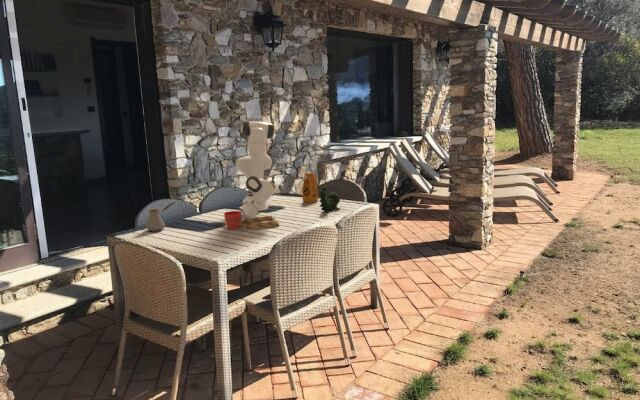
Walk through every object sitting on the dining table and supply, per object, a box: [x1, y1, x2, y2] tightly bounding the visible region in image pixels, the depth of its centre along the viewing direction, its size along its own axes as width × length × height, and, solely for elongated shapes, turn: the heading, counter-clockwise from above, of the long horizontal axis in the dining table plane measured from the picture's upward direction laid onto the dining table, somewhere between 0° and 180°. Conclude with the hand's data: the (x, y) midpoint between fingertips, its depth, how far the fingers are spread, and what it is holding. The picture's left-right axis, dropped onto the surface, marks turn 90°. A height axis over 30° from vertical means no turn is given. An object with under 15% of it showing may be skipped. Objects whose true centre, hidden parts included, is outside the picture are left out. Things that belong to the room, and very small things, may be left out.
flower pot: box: [223, 210, 242, 230], centre depth 308 cm, size 11×11×10 cm
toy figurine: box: [318, 186, 341, 212], centre depth 347 cm, size 9×19×25 cm
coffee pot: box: [145, 202, 174, 232], centre depth 315 cm, size 21×12×15 cm, turn 144°
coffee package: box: [301, 171, 319, 204], centre depth 378 cm, size 10×12×22 cm
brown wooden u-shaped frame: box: [240, 215, 280, 231], centre depth 313 cm, size 22×17×4 cm
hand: (241, 220), depth 309 cm, fingers closed
